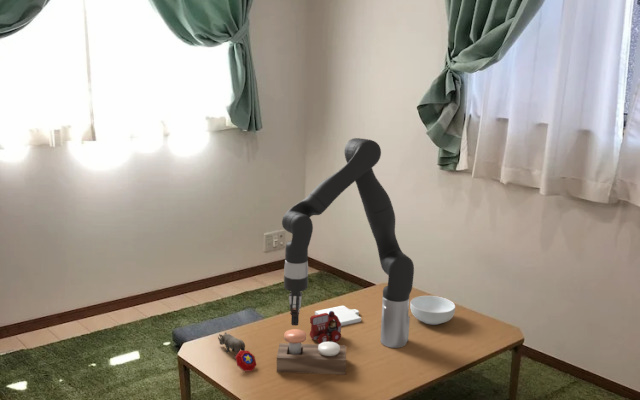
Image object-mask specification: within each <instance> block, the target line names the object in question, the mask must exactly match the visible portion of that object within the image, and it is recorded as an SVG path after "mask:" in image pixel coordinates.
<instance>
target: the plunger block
mask: <svg viewBox="0 0 640 400" xmlns="http://www.w3.org/2000/svg"><path fill="white" fill-rule="evenodd" d="M318 345H319V343H317V344H316V343H314V344H313V343H312V344H311V343H301V354H299V355H291V354H289V342H286V343H285V342H284V343H283V342H281V343H280V342H279V345H278V349H277V354H276V373H286V374H287V373H293V374H319V375H320V374H324V375H326V374H327V375H346V371H347V370H346V369H347V352H346V351H347V348H346V345H344V344H343V345H341V344H338V345H339V346H340V352H339V354H337V355H335V356H323V355H321V354H320V353H319V352H318Z"/></svg>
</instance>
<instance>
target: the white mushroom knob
mask: <svg viewBox="0 0 640 400" xmlns="http://www.w3.org/2000/svg"><path fill="white" fill-rule="evenodd" d="M318 344H319V343H318ZM339 345H340V344H338V342H333V341H328V342H322V343H320V344H319V345H318V352H319V353H320V354H321V355H323V356H335V355H337V354H339V352H340V346H339Z"/></svg>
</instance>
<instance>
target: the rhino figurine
mask: <svg viewBox="0 0 640 400" xmlns="http://www.w3.org/2000/svg"><path fill="white" fill-rule="evenodd" d="M217 339H218V341H219V345H220V346H221V345H224V346H225V353H230V351H233V352H235V354H234V356H233V358H235V356H236V355H237V354H238V352H239V351H246V344H245V341H243V340H242V339H240V338H237V337H235V336H234V335H232V334H231V333H227V332H224V333H223V334H220V333H219V334H218V336H217ZM230 349H231V350H230Z"/></svg>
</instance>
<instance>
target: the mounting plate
mask: <svg viewBox="0 0 640 400" xmlns="http://www.w3.org/2000/svg"><path fill="white" fill-rule="evenodd" d="M330 311H333V312H334V315H336V316H337V317H338V319H339V321H340V323H341V327H343V326H349V325H352V324H357V323H361V321H362V317H361V316H359V313H360V311H359V310H358V309H355V308H353V309H350V308H348V307H346V306H345V305H339V306H334V307H330V308H329V307H328V308H325V309H324V308H323V309H320V310H314V315H319V314H323V313H327V314H329V312H330ZM334 321H335V320H334ZM335 327H336V326H335Z"/></svg>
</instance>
